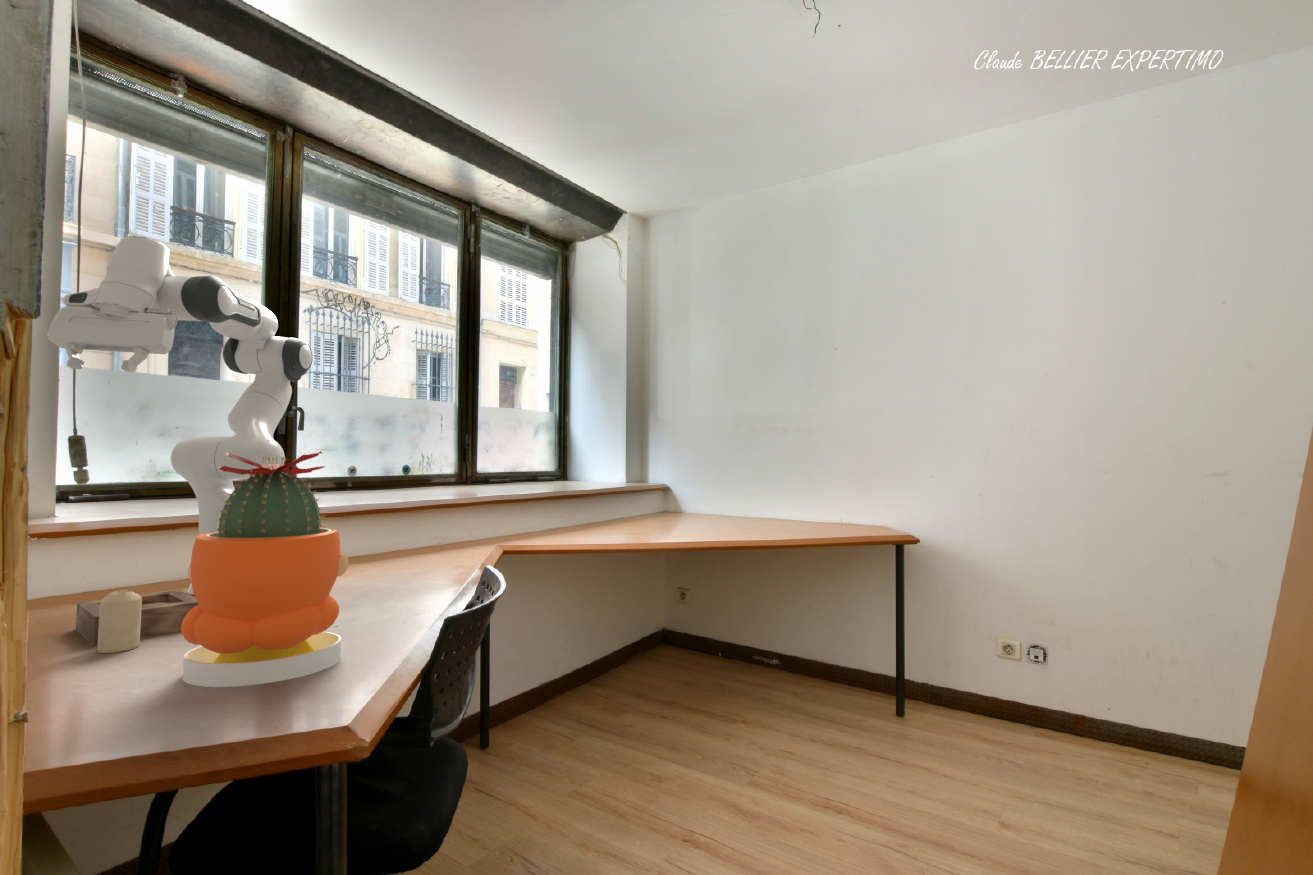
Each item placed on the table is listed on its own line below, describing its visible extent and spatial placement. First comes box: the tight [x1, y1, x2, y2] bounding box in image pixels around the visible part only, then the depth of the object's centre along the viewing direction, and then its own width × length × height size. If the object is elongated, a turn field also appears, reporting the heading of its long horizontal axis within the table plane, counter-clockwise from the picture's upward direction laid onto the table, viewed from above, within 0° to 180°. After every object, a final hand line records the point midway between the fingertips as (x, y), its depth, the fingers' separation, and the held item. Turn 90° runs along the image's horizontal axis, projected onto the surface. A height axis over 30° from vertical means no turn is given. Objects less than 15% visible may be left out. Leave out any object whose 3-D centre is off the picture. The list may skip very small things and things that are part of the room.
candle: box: [96, 589, 142, 654], centre depth 105 cm, size 6×6×10 cm
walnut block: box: [75, 589, 199, 647], centre depth 117 cm, size 16×16×6 cm
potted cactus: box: [180, 451, 349, 688], centre depth 95 cm, size 22×22×35 cm
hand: (100, 369), depth 115 cm, fingers open, 8 cm apart
